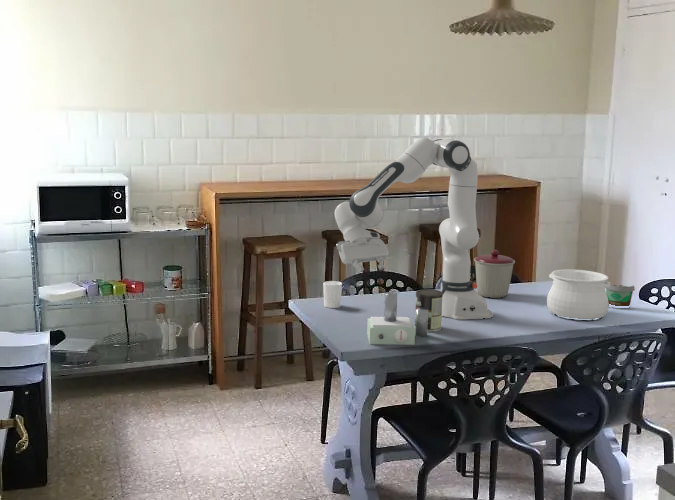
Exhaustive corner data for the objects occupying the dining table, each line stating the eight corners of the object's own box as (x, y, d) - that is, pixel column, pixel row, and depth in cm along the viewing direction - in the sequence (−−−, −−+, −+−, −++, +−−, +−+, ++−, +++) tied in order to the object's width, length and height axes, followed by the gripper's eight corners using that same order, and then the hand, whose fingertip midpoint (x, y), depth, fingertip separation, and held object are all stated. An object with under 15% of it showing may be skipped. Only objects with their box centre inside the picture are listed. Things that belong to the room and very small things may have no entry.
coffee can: (417, 331, 293) (418, 295, 291) (412, 324, 303) (413, 289, 301) (444, 331, 294) (445, 295, 292) (438, 324, 304) (440, 289, 302)
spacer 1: (395, 318, 286) (396, 292, 284) (396, 321, 281) (397, 295, 279) (383, 318, 285) (384, 291, 284) (384, 321, 281) (385, 294, 279)
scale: (409, 334, 290) (410, 316, 289) (414, 345, 276) (415, 327, 275) (367, 333, 290) (367, 315, 288) (369, 345, 276) (370, 326, 275)
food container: (602, 307, 335) (604, 285, 333) (603, 304, 340) (604, 282, 339) (632, 311, 330) (634, 288, 328) (633, 307, 336) (635, 285, 334)
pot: (618, 315, 323) (622, 275, 320) (592, 326, 305) (596, 284, 302) (561, 304, 340) (564, 266, 337) (533, 314, 322) (536, 274, 319)
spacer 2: (426, 333, 291) (427, 307, 289) (427, 337, 287) (429, 310, 285) (414, 333, 291) (415, 307, 289) (416, 337, 287) (417, 310, 285)
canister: (516, 301, 343) (519, 254, 339) (475, 300, 343) (478, 253, 340) (508, 291, 361) (511, 246, 357) (469, 290, 361) (471, 245, 357)
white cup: (339, 309, 324) (340, 285, 322) (321, 307, 325) (321, 284, 323) (343, 304, 331) (343, 281, 329) (325, 303, 333) (325, 280, 331)
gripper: (338, 237, 288) (352, 267, 282) (382, 233, 300) (397, 262, 293) (331, 247, 293) (345, 277, 287) (375, 242, 304) (389, 271, 298)
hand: (372, 269), depth 290 cm, fingers open, 8 cm apart
